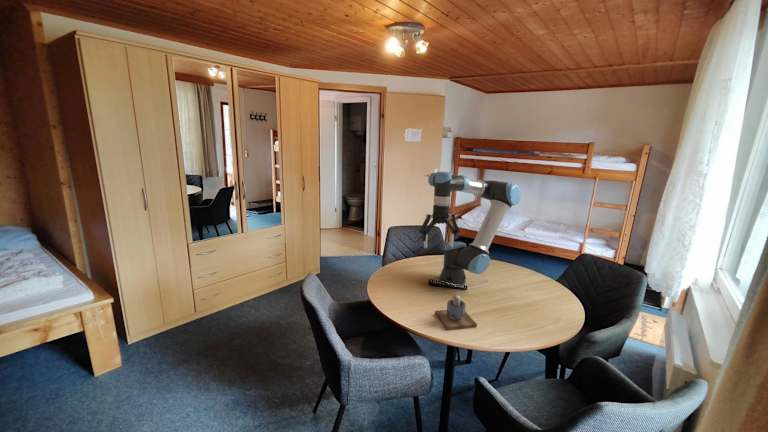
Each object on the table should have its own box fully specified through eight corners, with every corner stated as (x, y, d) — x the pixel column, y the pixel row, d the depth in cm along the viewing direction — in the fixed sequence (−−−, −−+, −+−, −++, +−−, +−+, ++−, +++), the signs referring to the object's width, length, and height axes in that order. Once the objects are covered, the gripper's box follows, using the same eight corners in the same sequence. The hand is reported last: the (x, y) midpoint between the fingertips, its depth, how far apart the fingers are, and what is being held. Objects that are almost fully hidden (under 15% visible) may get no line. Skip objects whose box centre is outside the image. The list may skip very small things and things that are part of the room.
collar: (459, 308, 153) (460, 298, 152) (466, 316, 146) (467, 306, 145) (444, 310, 151) (445, 300, 150) (451, 318, 144) (452, 307, 143)
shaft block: (462, 311, 158) (464, 289, 155) (476, 327, 144) (479, 303, 142) (434, 313, 154) (436, 291, 152) (447, 330, 141) (449, 305, 139)
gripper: (461, 202, 163) (458, 243, 168) (414, 203, 157) (411, 245, 162) (468, 205, 156) (465, 247, 161) (419, 206, 150) (416, 250, 155)
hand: (438, 246), depth 161 cm, fingers open, 13 cm apart
